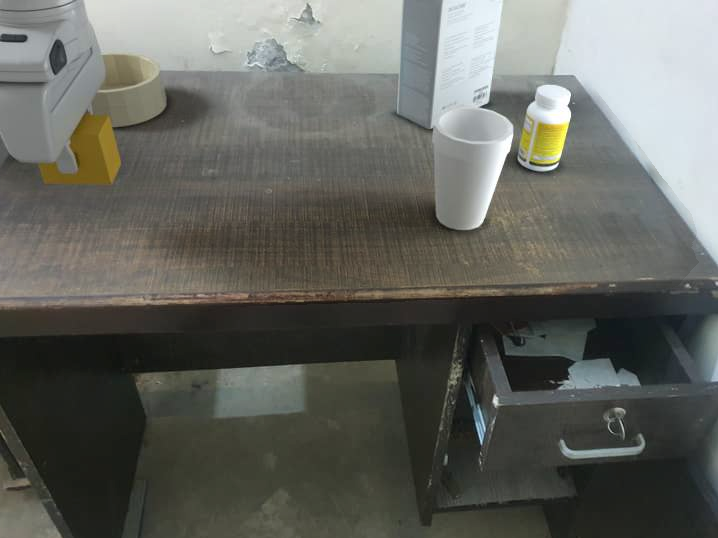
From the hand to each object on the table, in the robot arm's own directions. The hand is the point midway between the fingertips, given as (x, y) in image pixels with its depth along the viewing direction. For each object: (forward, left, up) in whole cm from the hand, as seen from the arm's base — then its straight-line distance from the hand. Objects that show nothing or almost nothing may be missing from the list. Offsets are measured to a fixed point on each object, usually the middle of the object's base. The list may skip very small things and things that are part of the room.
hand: (78, 156), depth 69 cm
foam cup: (+44, +3, -10) cm, 46 cm away
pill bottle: (+58, +17, -10) cm, 61 cm away
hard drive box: (+46, +34, -10) cm, 58 cm away
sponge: (0, 0, -2) cm, 2 cm away
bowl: (-6, +33, -10) cm, 35 cm away
